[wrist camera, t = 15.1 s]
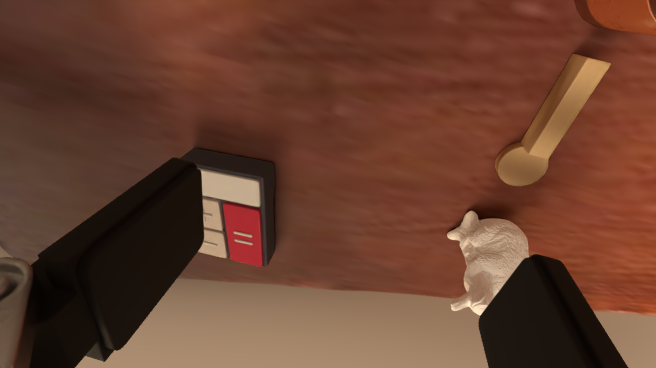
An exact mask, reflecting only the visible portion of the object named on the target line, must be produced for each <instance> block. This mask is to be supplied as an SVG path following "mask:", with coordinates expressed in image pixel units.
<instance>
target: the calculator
mask: <svg viewBox="0 0 656 368" xmlns="http://www.w3.org/2000/svg"><path fill="white" fill-rule="evenodd" d="M180 159H183V160H186V161H190V162H194V163H195V164H196V166H197V169H200V170H201V174H202V195H203V219H204V241H203V244H202V246H201V248H200V249H199V251H198V252H201V253H205V254H209V255H213V256H218V257H222V258H231V260H234V261H239V262H243V263H247V264H251V265H255V266H260V267H262V266H267V265H268V263H269V262H270V260H271V258H272V256H273V254H274V251H275V245H274V203H273V196H274V190H275V168H274V164H273V163H271V162H267V161H261V160H256V159H251V158H245V157H240V156H235V155H229V154H224V153H219V152H213V151H208V150H203V149H197V148H194V149H192V150H191V151H189V152H188V153H187V154H185V155H184V156H183V157H181V158H180Z"/></svg>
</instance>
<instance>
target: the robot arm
mask: <svg viewBox="0 0 656 368" xmlns="http://www.w3.org/2000/svg"><path fill="white" fill-rule="evenodd" d="M203 241H204V219H203V195H202V174H201V170H200V169H197V166H196V164H195V163H194V162H190V161H186V160H183V159H179V158H172V159H170V160H169V161H167V162H166V163H165V164H163V165H162V166H160V167H159V168H158V169H156V170H155V171H153V172H152V173H151V174H149V175H148V176H146V177H145V178H144V179H142V180H141V181H140V182H138V183H137V184H135V185H134V186H133V187H131V188H130V189H128V190H127V191H126V192H124V193H123V194H121V195H120V196H119V197H117V198H116V199H115V200H113V201H112V202H110V203H109V204H108V205H106V206H105V207H103V208H102V209H101V210H99V211H98V212H97V213H95V214H94V215H92V216H91V217H90V218H88V219H87V220H85V221H84V222H83V223H81V224H80V225H78V226H77V227H76V228H74V229H73V230H72V231H70V232H69V233H67V234H66V235H65V236H63V237H62V238H60V239H59V240H58V241H56V242H55V243H53V244H52V245H51V246H49V247H48V248H47V249H45V250H44V251H42V252H41V253H40V254H38V257H39V259H38V260H37V261H36V262H34V263H33V264H31V265H30V264H29V263H28V262H27V261H24V260H22V259H19V258H11V257H3V258H0V368H75V367H76V366H77V365H78V363H79V362H80V361H81V360H82V359H83V358H84V356H88V357H91V358H94V359H97V360H101V361H104V362H105V361H106V360H107V358H108V357H109V356H110V355H111V353H112V352H113V351H114V350H120V349H121V348H122V347H123V346H124V345H125V344H126V343H127V342H128V340H129V339H130V338H131V337H132V335H133V334H134V333H135V331H136V330H137V329H138V328H139V326H140V325H141V324H142V322H143V321H144V320H145V319H146V317H147V316H148V315H149V314H150V312H151V311H152V310H153V308H154V307H155V306H156V305H157V303H158V302H159V301H160V299H161V298H162V297H163V296H164V294H165V293H166V292H167V290H168V289H169V288H170V286H171V285H172V284H173V283H174V281H175V280H176V279H177V278H178V276H179V275H180V274H181V272H182V271H183V270H184V269H185V267H186V266H187V265H188V263H189V262H190V261H191V260H192V258H193V257H194V256H195V254H196V253H197V252H198V251H199V249H200V248H201V246H202V244H203ZM479 330H480V334H481V338H482V342H483V346H484V350H485V354H486V358H487V362H488V366H489V368H628V367H627V365H626V364H625V362H624V360H623V359H622V357H621V356H620V354H619V352H618V351H617V349H616V347H615V346H614V344H613V343H612V341H611V339H610V338H609V336H608V335H607V333H606V332H605V330H604V328H603V327H602V325H601V323H600V322H599V320H598V319H597V317H596V316H595V314H594V312H593V311H592V309H591V307H590V306H589V304H588V303H587V301H586V299H585V298H584V296H583V295H582V293H581V291H580V290H579V288H578V287H577V285H576V283H575V282H574V280H573V279H572V277H571V275H570V274H569V272H568V271H567V269H566V267H565V266H564V264H563V263H562V262H561V261H559V260H557V259H553V258H549V257H545V256H542V255H538V254H534V255H532V256H531V257H530V258H524V259H523V260H522V261H521V263H520V264H519V265H518V267H517V268H516V269H515V271H514V272H513V273H512V275H511V276H510V277H509V279H508V280H507V281H506V282H505V284H504V285H503V286H502V288H501V289H500V290H499V292H498V293H497V294H496V296H495V297H494V298H493V299H492V301H491V302H490V303H489V305H488V306H487V307H486V309H485V310H484V311H483V313H482V314H481V316H480V318H479Z"/></svg>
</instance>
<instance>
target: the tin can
mask: <svg viewBox="0 0 656 368" xmlns="http://www.w3.org/2000/svg"><path fill="white" fill-rule="evenodd" d="M575 4H576V7H577V9H578V11H579V13H580V15H581V16H582V17H583V18H584V19H585V20H586V21H587V22H589V23H590V24H592V25H595V26H597V27H601V28H608V29H613V30H618V31H625V32H634V33H642V34H651V35H656V0H575Z"/></svg>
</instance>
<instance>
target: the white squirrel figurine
mask: <svg viewBox="0 0 656 368" xmlns="http://www.w3.org/2000/svg"><path fill="white" fill-rule="evenodd" d="M447 237H448V238H449V239H451V240H458V241H460V247H461V248H462V252H463V254H464V256H465V262H466V264H467V268H466V271H465V274H464V286H465V289H466V291H467V293H466V294H464V295H462V296H461V297H459V298H457V299H455V300H454V301H453V302H452V303H451V305H450V306H452V307H451V310H453V311H456V310H457V311H458V310H460V309H462V308H464V307H469V306H470V308H471V309H472V311H473V312H475V313H477V314H478V315H480V316H481V314H482V313H483V311H484V310H485V309H486V307H487V306H488V305H489V303H490V302H491V301H492V299H493V298H494V297H495V296H496V294H497V293H498V292H499V290H500V289H501V288H502V286H503V285H504V284H505V282H506V281H507V280H508V279H509V277H510V276H511V275H512V273H513V272H514V271H515V269H516V268H517V267H518V265H519V264H520V263H521V261H522V260H523V259H524V258H529V254H528V243H527V238H526V236H525V234H524V233H523V231H521V230H520V228H519V227H518V226H516V225H515V224H513V223H512V222H510V221H508V220H504V219H497V218H490V219H483V220H479V219H478V216H477V214H476V213H475V212H474V211H469V212H468V213H467V214H466V215H465V217H464V219H463V222H462V223H461V225H460V226H459V227H457V228H456V229H454V230H452V231H450V232H448V233H447Z"/></svg>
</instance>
